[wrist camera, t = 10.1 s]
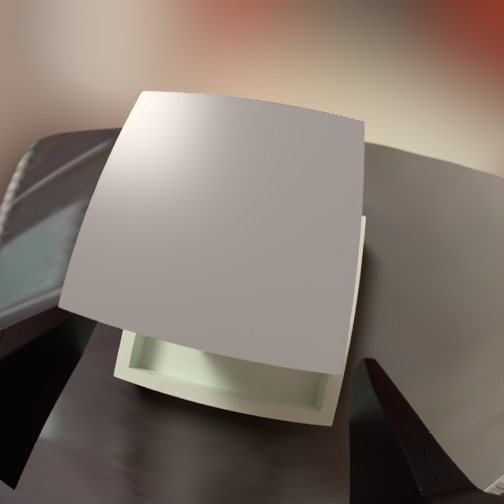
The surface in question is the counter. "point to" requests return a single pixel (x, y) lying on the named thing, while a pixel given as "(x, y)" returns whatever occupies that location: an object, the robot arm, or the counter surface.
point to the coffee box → (496, 487)
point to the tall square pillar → (226, 230)
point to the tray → (234, 377)
